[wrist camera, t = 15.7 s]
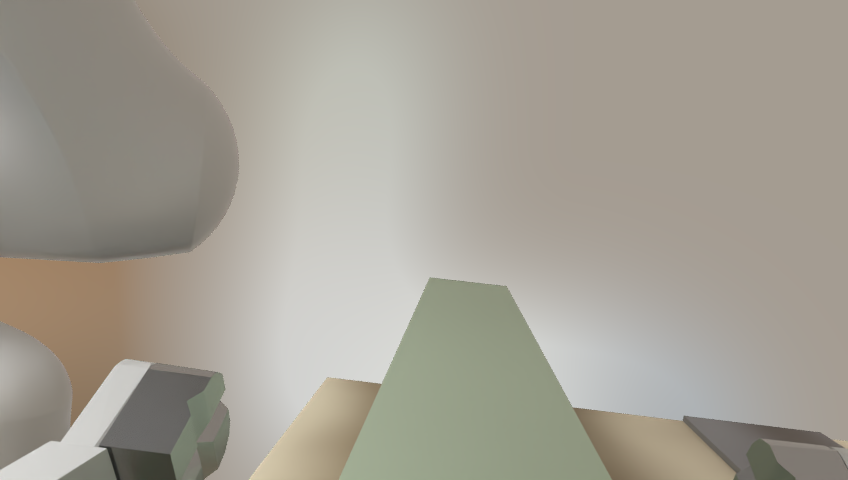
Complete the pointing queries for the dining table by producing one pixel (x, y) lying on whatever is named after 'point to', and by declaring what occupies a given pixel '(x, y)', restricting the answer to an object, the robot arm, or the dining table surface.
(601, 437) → the stand
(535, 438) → the green block
